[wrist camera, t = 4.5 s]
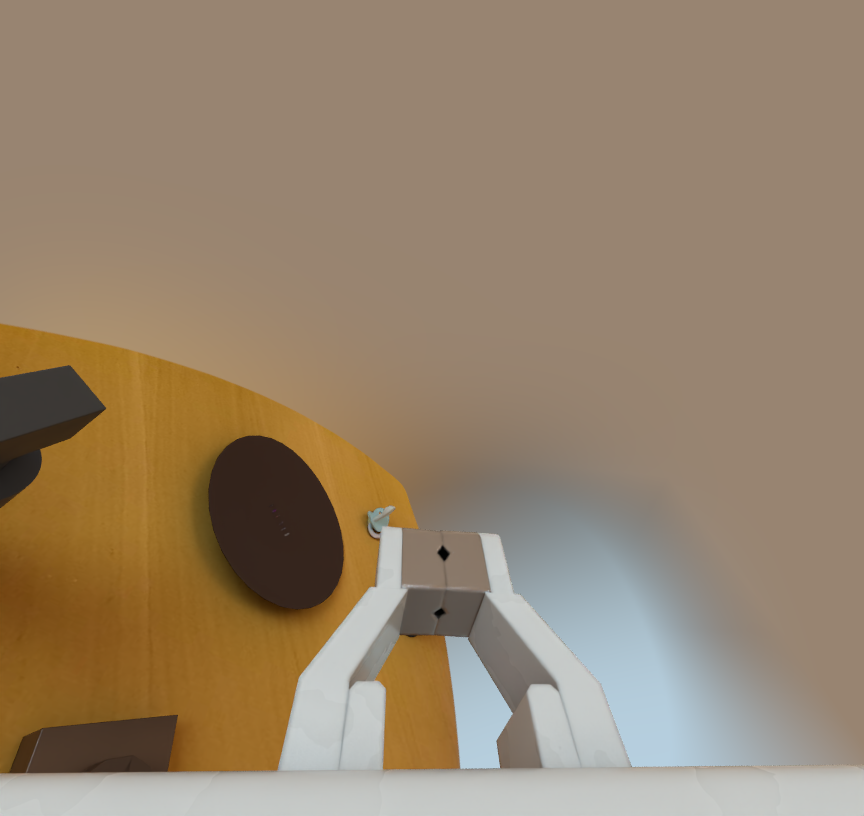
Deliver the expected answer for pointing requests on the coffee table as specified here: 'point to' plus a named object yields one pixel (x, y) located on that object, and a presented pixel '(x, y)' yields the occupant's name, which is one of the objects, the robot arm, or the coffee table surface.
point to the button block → (99, 747)
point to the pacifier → (379, 520)
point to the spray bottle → (39, 421)
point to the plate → (275, 523)
